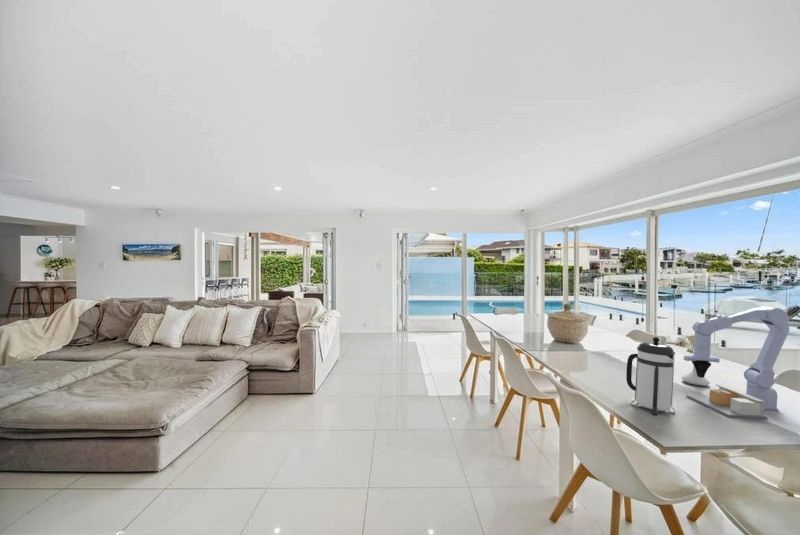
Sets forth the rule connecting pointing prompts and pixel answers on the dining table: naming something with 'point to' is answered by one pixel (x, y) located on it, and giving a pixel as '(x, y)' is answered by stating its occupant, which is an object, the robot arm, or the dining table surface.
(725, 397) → the block
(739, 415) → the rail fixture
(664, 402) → the coffee press
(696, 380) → the flower in vase
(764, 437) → the dining table surface
